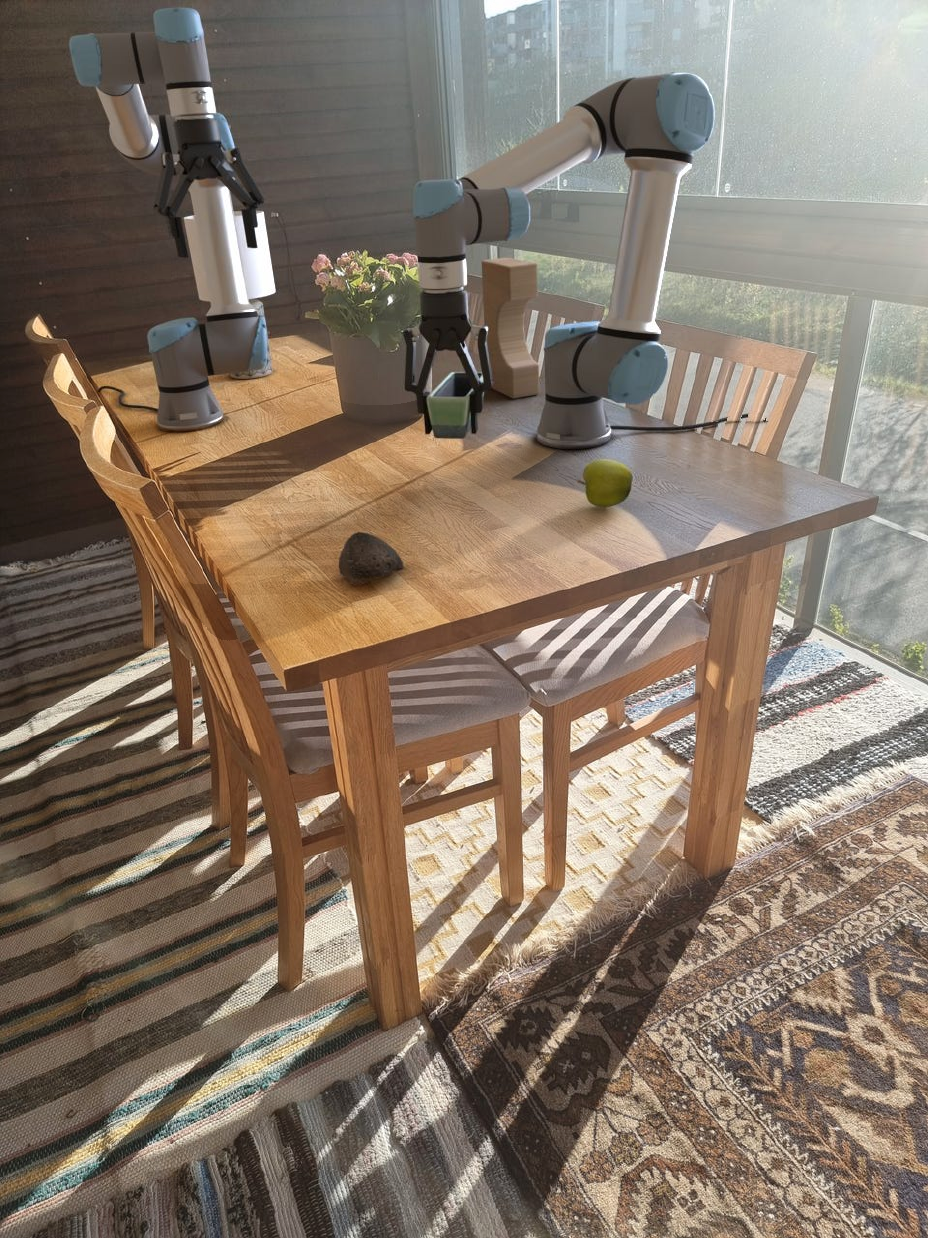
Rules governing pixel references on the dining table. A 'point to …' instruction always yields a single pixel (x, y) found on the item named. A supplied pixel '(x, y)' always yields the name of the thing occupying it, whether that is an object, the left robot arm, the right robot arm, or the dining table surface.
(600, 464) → the apple
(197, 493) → the dining table surface
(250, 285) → the lamp
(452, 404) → the planter
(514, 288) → the decorative block
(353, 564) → the stone
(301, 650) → the dining table surface
